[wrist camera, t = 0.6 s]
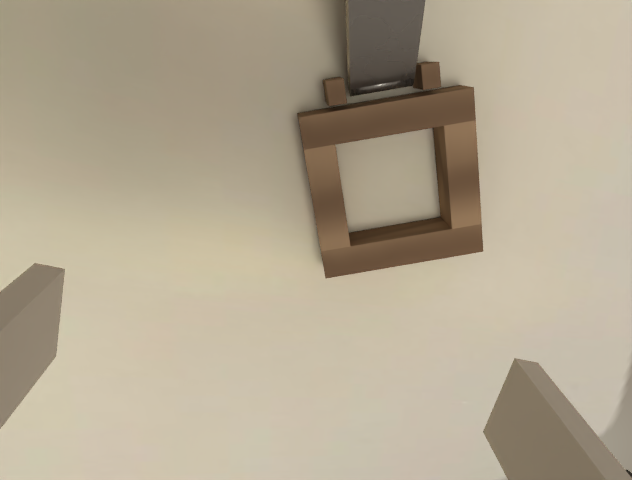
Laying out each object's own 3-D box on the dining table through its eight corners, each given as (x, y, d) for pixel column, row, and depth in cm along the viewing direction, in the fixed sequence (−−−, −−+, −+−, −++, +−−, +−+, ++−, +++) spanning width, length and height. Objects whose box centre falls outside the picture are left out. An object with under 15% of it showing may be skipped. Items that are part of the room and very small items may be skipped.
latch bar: (335, -110, 24) (339, -97, 24) (441, -128, 24) (447, -116, 24) (343, 89, 36) (346, 100, 36) (414, 76, 36) (417, 87, 36)
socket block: (292, 85, 37) (293, 87, 34) (458, 56, 37) (472, 56, 34) (323, 263, 42) (325, 278, 39) (469, 238, 42) (483, 251, 39)
